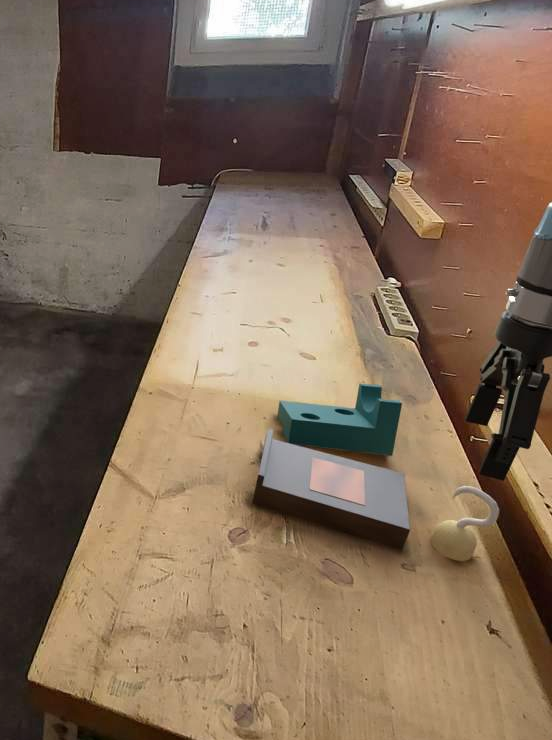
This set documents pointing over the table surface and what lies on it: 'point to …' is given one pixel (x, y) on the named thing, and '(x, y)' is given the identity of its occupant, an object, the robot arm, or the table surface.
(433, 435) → the table surface
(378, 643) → the table surface
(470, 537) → the hook
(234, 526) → the table surface
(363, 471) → the shelf
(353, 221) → the table surface
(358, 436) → the teal l-shaped bracket
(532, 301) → the robot arm
